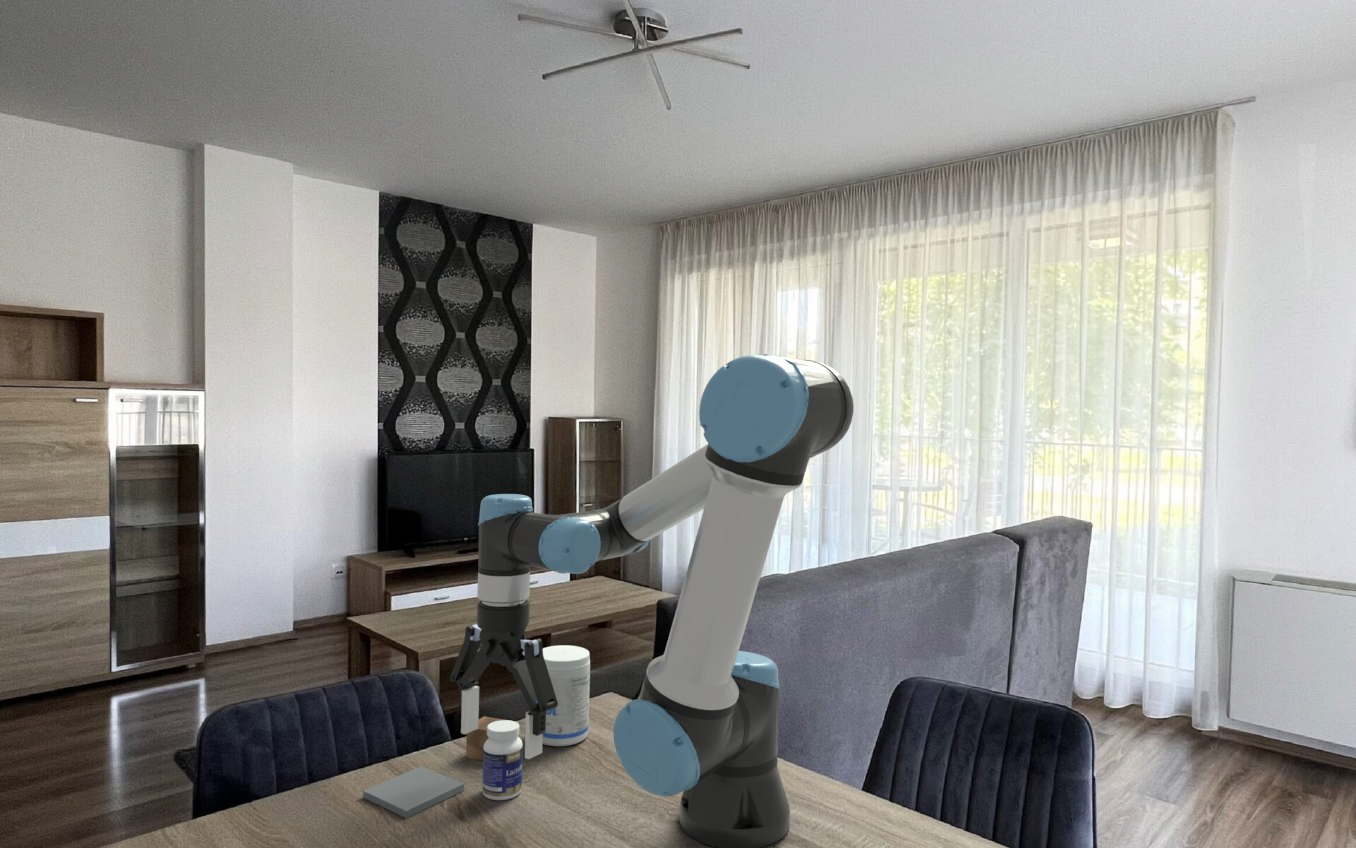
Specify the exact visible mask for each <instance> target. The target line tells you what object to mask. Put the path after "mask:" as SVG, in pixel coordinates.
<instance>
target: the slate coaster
mask: <svg viewBox="0 0 1356 848" xmlns="http://www.w3.org/2000/svg"><path fill="white" fill-rule="evenodd" d="M464 785H465V784H464V783H463V782H460V781H458V780H455V779H453V778H451V777H448V776H445V775H443V774H441V773H438V772H436V771H434V770H432V769H429V768H427V767H424V766H421V765H420V766H417V767H416V768H413V769H411V770H409V771H407V772H404V773H402V774H399V775H397V776H395V777H392V778H390V779H388V780H386V781H383V782H381V783H378V784H376V785H373V786H371V787H369V788H367V789H364V790H362V798H363V799H365V800H368V801H369V802H372V803H374V804H376V805H378V806H380V807H381V808H384V809H386V810H388V811H390V812H392V813H394V814H397V815H398V816H401V817H403V818H405V819H408V818H409V817H411V816H413V815H416V814H418V813H420V812H422V811H424V810H426V809H428V808H430V807H432V806H434V805H437V804H440V803H441V802H442V801H445V800H447V799H449V798H451V797H453V796H455V795H457V794H459V793H462V792H464V790H465V786H464Z"/></svg>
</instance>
